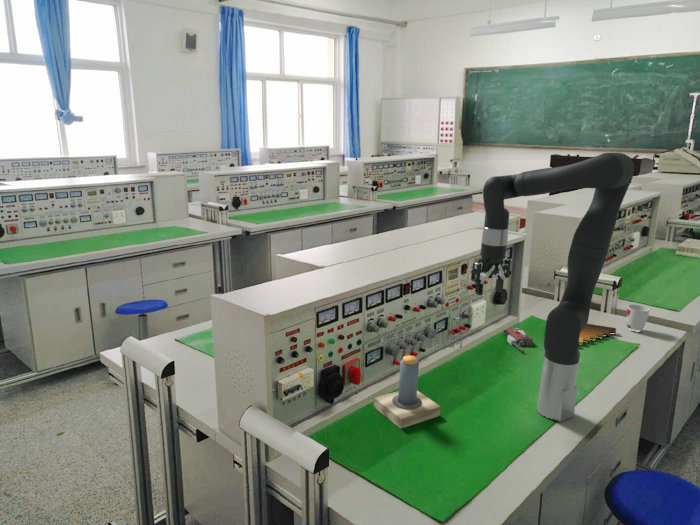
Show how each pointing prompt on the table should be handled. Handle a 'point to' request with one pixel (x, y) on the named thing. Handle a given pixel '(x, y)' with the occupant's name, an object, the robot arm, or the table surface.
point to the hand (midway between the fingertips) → (488, 292)
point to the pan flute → (594, 332)
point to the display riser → (406, 409)
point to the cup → (637, 316)
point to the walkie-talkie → (517, 337)
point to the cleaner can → (408, 380)
